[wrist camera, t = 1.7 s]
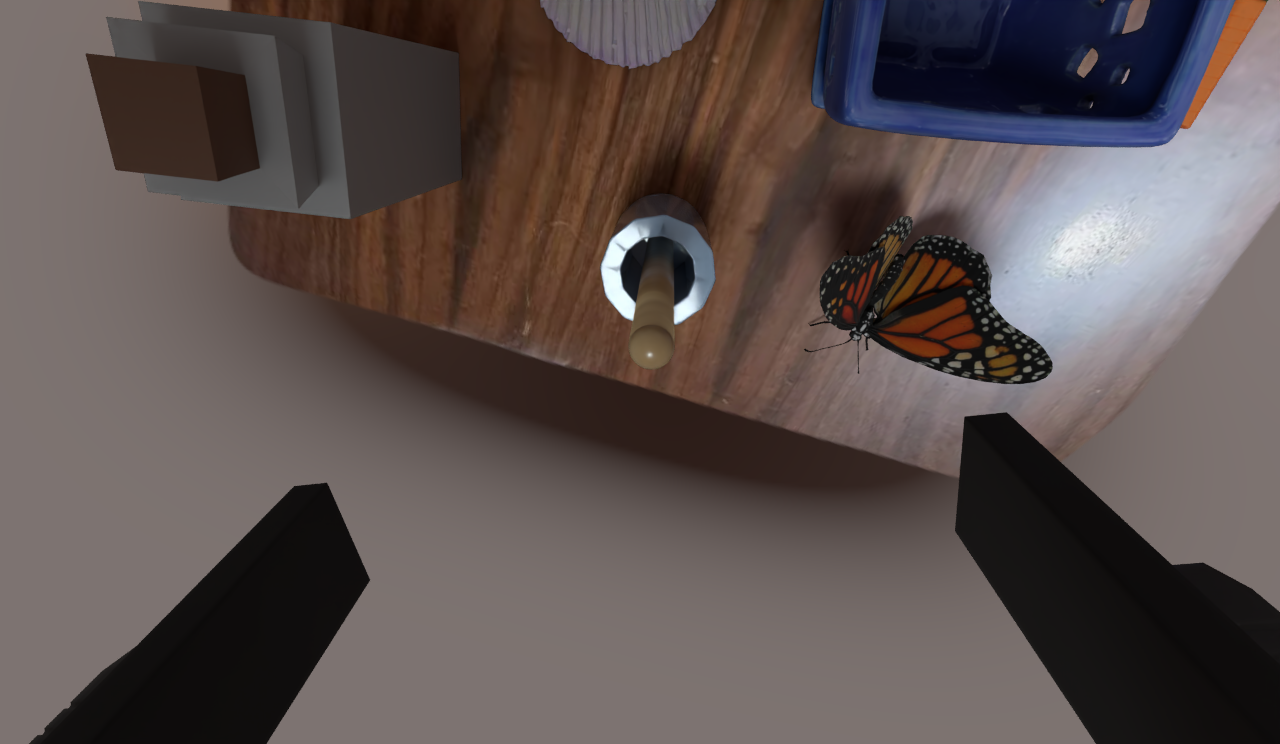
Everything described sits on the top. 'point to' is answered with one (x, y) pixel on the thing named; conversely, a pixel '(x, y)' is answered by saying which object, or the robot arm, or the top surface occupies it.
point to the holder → (629, 250)
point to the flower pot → (1015, 68)
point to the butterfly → (930, 308)
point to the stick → (654, 307)
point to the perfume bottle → (277, 111)
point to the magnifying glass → (1225, 51)
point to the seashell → (628, 27)
